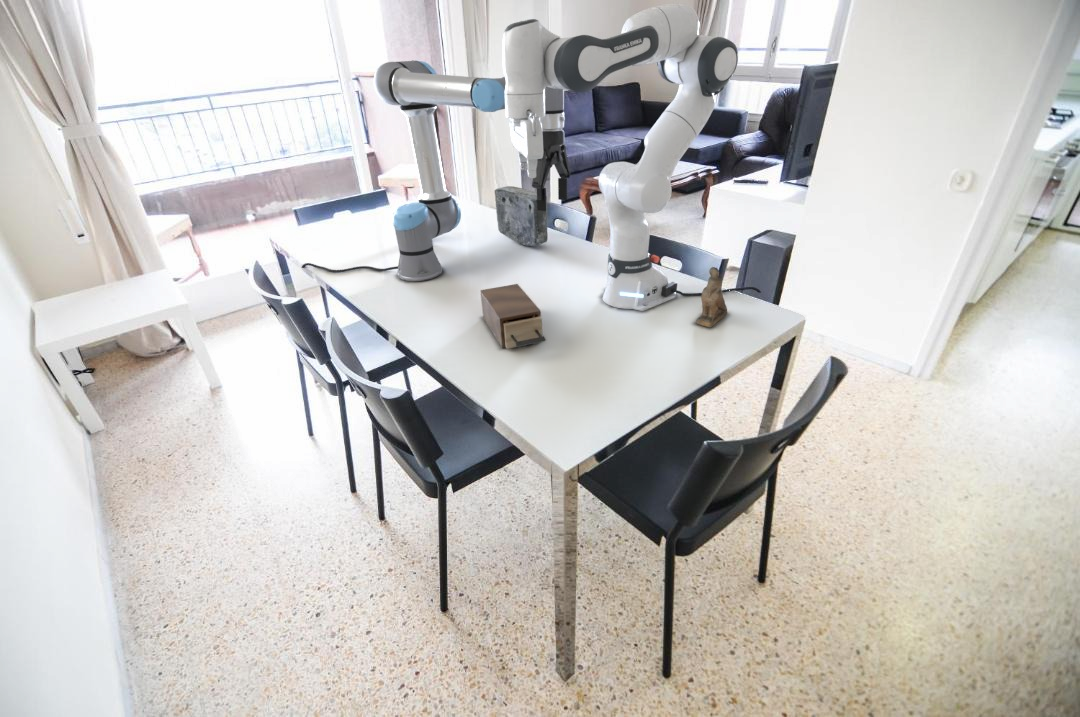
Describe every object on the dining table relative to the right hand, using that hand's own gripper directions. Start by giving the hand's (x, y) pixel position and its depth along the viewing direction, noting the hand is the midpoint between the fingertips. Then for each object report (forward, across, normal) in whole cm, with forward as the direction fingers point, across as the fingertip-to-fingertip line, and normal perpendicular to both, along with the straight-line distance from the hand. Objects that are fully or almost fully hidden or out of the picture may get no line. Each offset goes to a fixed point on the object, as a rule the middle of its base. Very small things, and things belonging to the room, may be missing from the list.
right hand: (528, 173), depth 117 cm
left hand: (+16, +30, -13) cm, 37 cm away
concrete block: (+41, +73, -11) cm, 84 cm away
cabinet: (+41, +1, +6) cm, 42 cm away
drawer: (+40, -4, +6) cm, 41 cm away
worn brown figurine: (+41, -8, -49) cm, 65 cm away
